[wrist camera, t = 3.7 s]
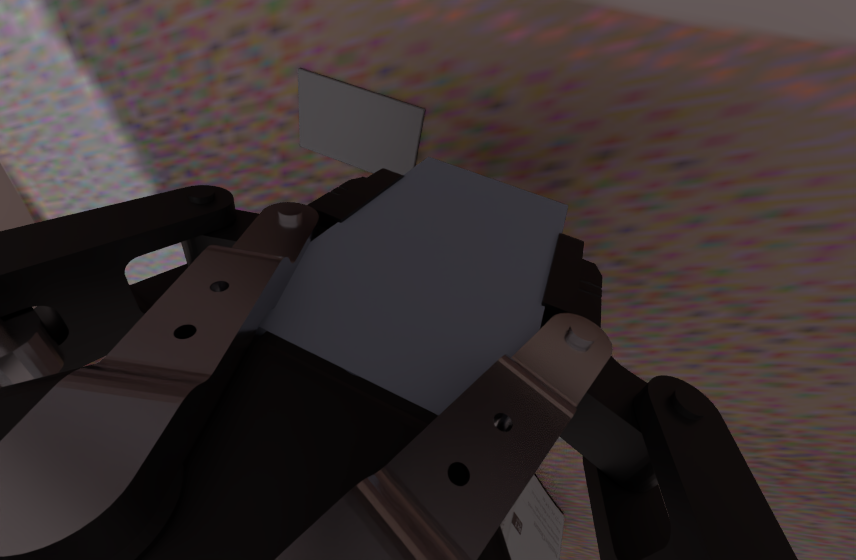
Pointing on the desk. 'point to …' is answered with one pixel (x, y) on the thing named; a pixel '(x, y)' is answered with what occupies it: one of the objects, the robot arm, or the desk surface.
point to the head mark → (357, 124)
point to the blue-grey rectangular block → (425, 283)
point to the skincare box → (533, 525)
